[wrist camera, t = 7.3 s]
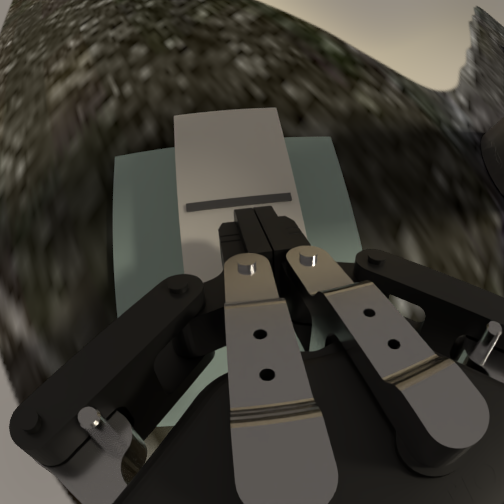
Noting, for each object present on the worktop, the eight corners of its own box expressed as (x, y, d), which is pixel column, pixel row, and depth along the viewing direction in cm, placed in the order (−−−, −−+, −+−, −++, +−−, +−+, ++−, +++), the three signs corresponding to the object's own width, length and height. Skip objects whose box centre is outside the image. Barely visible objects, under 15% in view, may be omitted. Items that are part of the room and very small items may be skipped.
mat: (327, 141, 21) (330, 136, 20) (380, 382, 17) (385, 383, 16) (117, 161, 19) (114, 156, 19) (137, 424, 15) (135, 427, 14)
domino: (304, 318, 17) (268, 137, 20) (322, 315, 14) (276, 106, 17) (197, 335, 16) (179, 145, 19) (191, 335, 13) (173, 114, 16)
